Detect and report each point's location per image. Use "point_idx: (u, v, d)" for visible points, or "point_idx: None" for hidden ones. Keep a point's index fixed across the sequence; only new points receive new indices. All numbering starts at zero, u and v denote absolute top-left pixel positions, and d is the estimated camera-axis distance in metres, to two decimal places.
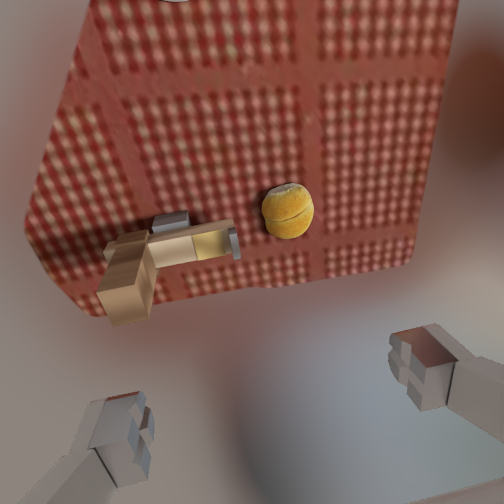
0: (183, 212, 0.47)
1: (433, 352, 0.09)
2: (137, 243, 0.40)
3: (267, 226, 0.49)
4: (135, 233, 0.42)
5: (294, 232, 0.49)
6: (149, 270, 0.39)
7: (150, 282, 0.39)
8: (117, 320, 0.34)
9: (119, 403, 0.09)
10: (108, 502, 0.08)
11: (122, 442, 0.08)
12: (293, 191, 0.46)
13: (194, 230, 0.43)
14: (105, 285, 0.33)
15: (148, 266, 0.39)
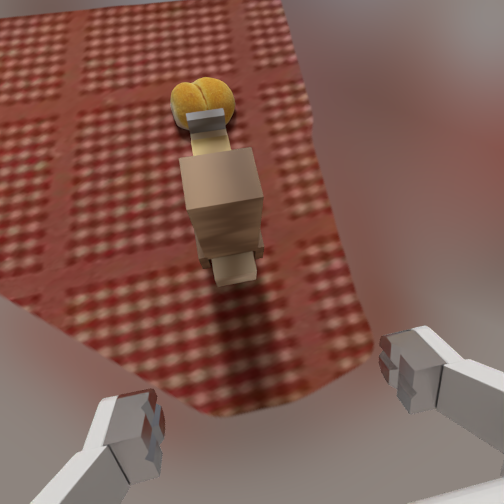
0: None
1: (422, 355, 0.09)
2: None
3: None
4: None
5: (219, 87, 0.41)
6: None
7: None
8: (249, 189, 0.20)
9: (131, 400, 0.09)
10: (121, 499, 0.08)
11: (135, 439, 0.08)
12: (172, 96, 0.42)
13: None
14: None
15: None
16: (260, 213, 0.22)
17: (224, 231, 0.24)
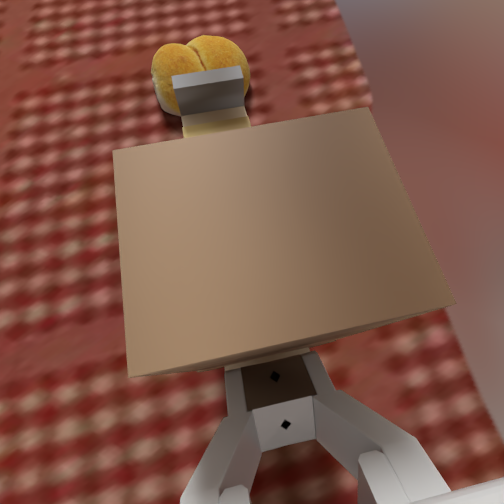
0: None
1: (297, 384, 0.08)
2: None
3: None
4: None
5: (226, 47, 0.26)
6: None
7: None
8: (390, 269, 0.05)
9: (256, 371, 0.09)
10: (257, 464, 0.08)
11: (277, 405, 0.08)
12: (152, 63, 0.27)
13: None
14: None
15: None
16: None
17: (264, 354, 0.09)
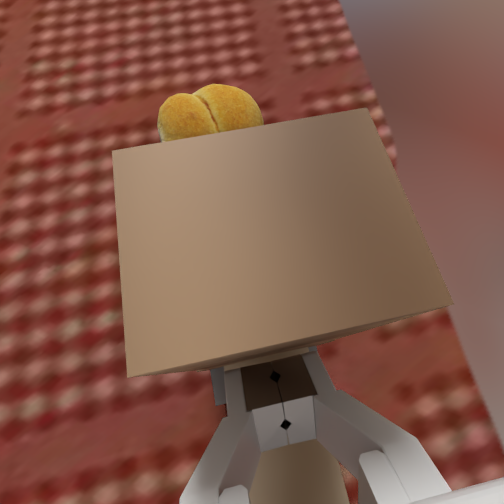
0: None
1: (297, 384, 0.08)
2: None
3: None
4: None
5: (239, 100, 0.24)
6: None
7: None
8: (389, 269, 0.05)
9: (256, 372, 0.09)
10: (257, 464, 0.08)
11: (277, 405, 0.08)
12: (159, 116, 0.25)
13: None
14: None
15: None
16: None
17: (263, 354, 0.09)
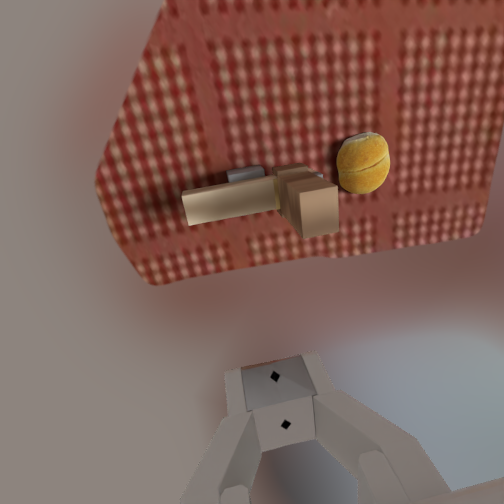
0: (256, 166, 0.45)
1: (297, 384, 0.08)
2: (300, 170, 0.39)
3: (341, 179, 0.47)
4: (290, 165, 0.41)
5: (371, 183, 0.46)
6: None
7: None
8: (309, 230, 0.32)
9: (256, 371, 0.09)
10: (257, 464, 0.08)
11: (277, 405, 0.08)
12: (372, 137, 0.44)
13: (273, 177, 0.41)
14: (303, 189, 0.31)
15: None
16: (296, 230, 0.35)
17: (289, 202, 0.35)
